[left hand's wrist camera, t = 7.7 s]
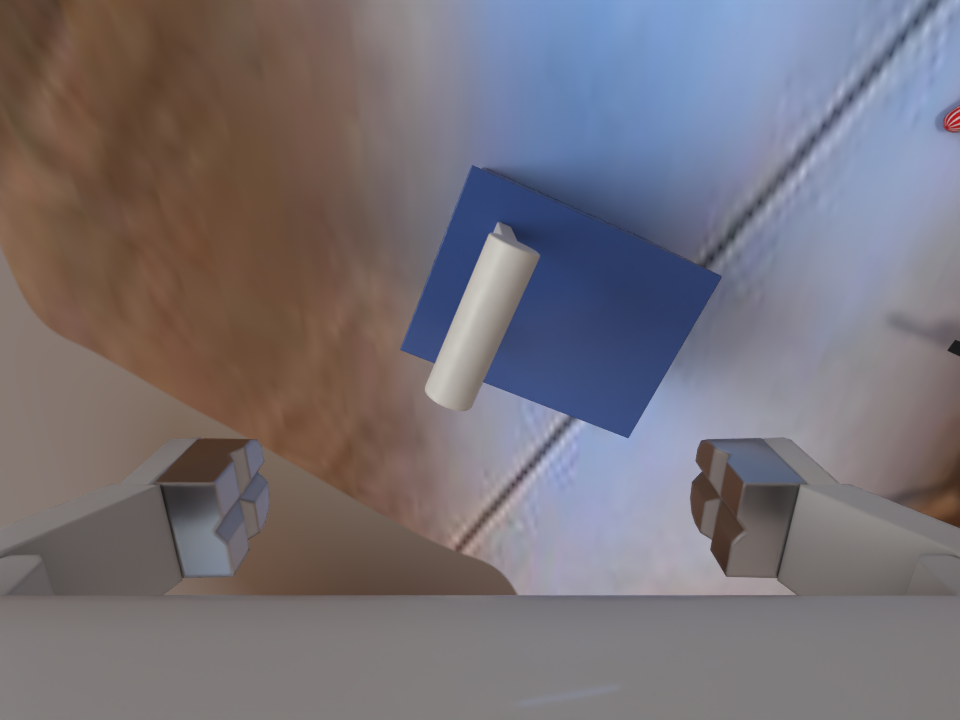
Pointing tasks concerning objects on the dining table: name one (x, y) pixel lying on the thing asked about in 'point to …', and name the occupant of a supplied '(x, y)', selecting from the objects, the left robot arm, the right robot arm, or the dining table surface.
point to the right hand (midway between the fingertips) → (897, 446)
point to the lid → (551, 307)
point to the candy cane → (952, 120)
